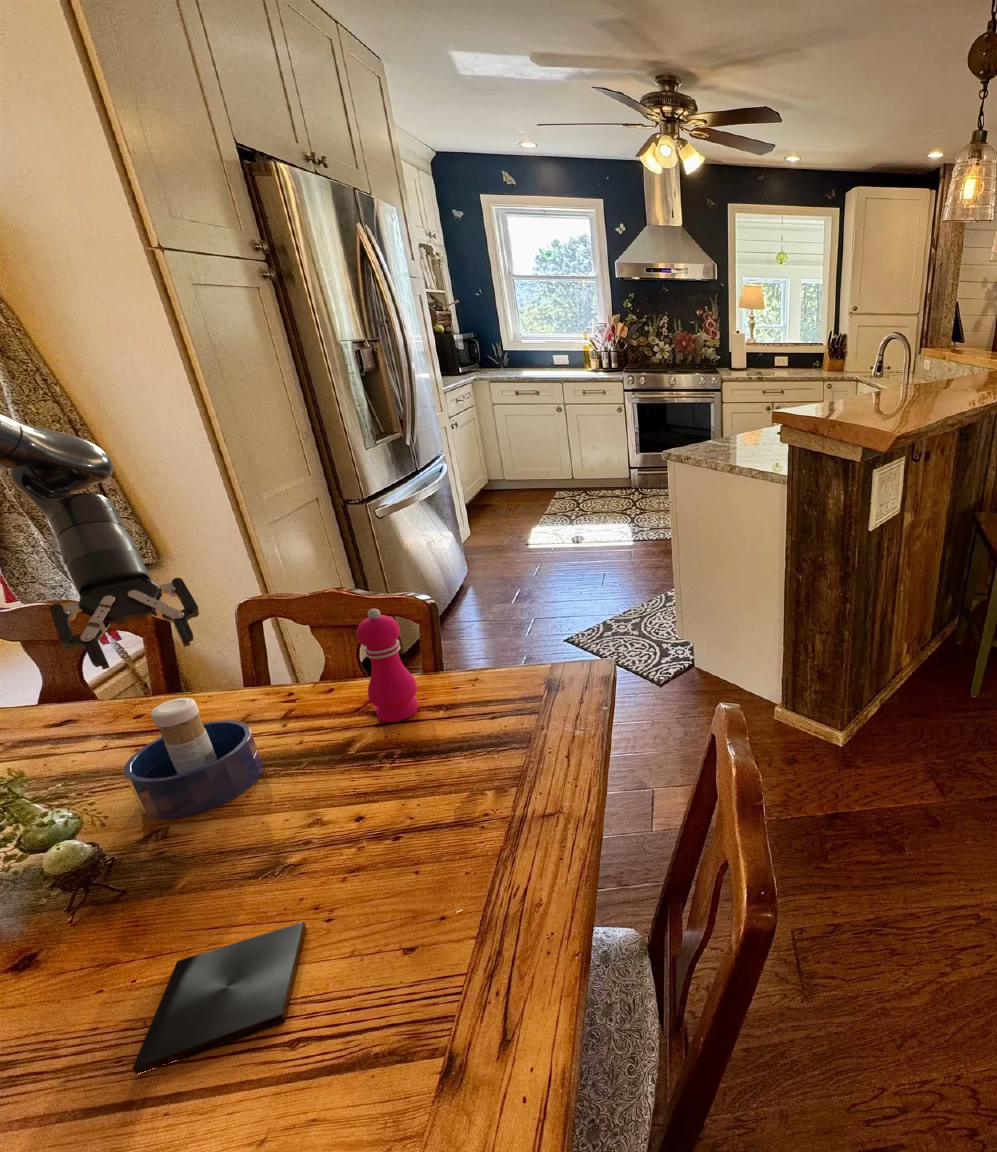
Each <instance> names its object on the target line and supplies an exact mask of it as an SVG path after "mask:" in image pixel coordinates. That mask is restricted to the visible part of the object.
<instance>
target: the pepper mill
mask: <svg viewBox="0 0 997 1152" xmlns="http://www.w3.org/2000/svg"><path fill="white" fill-rule="evenodd" d="M400 629H401V628H400V625H399V623H398V621H396V619H394V618H393V617H392V616H389V615H384V614H381V611H380V610H379V609H377V608H371V609H369V610H368V611H367V618H365V619H364V620H362V621H361V622H360V623H359V624H358V626H357V628H356V639H357V641H358V642H359V644H360V645H362V646H364V648H363V650H364V652H365V654H364V655H365V657H366V658H368V659H369V661H370V665H371V674H370V679H369V683H368V686H367V696H368V701H369V703H370V704H372V705H373V706H374V707H375V708H374V709H375V714H376V718H377V720H378V721H379V720H380V721H379V722H381V721H383V722H382V723H385V722H394V723H397V722H396V721H399V722H401V721H400V720H403V719H405V718H407V717H409V716H411V715H413V714H414V713H415V712H416V711H417V712H418V710H417V708H418V709H419V703H418V698H417V697H416V695H417V693H418V685H417V682H416V679H415V677H414V676H413V675H412V673H411V672H410V671H409V670H408V669H407V667H405V665H404V664H403V662H402V660H401V657H400V652H399V651H400V650H401V645H400V640H399V639H398V638H399V636H400V634H401V630H400ZM417 712H416V713H417ZM416 713H415V714H416ZM415 714H414V715H415ZM414 715H413V716H414ZM411 717H412V716H411ZM405 720H406V719H405ZM403 721H404V720H403Z"/></svg>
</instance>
